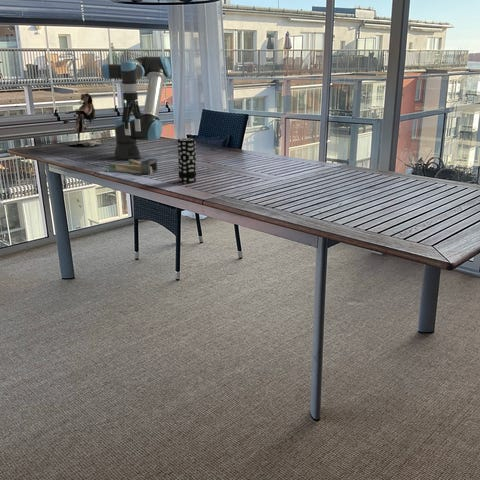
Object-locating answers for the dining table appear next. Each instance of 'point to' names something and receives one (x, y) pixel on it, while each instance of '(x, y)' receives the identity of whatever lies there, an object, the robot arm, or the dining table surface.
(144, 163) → the collar
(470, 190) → the dining table surface
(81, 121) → the figurine
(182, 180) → the white-spotted black cylinder
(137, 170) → the bar
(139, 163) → the tongs jaw
